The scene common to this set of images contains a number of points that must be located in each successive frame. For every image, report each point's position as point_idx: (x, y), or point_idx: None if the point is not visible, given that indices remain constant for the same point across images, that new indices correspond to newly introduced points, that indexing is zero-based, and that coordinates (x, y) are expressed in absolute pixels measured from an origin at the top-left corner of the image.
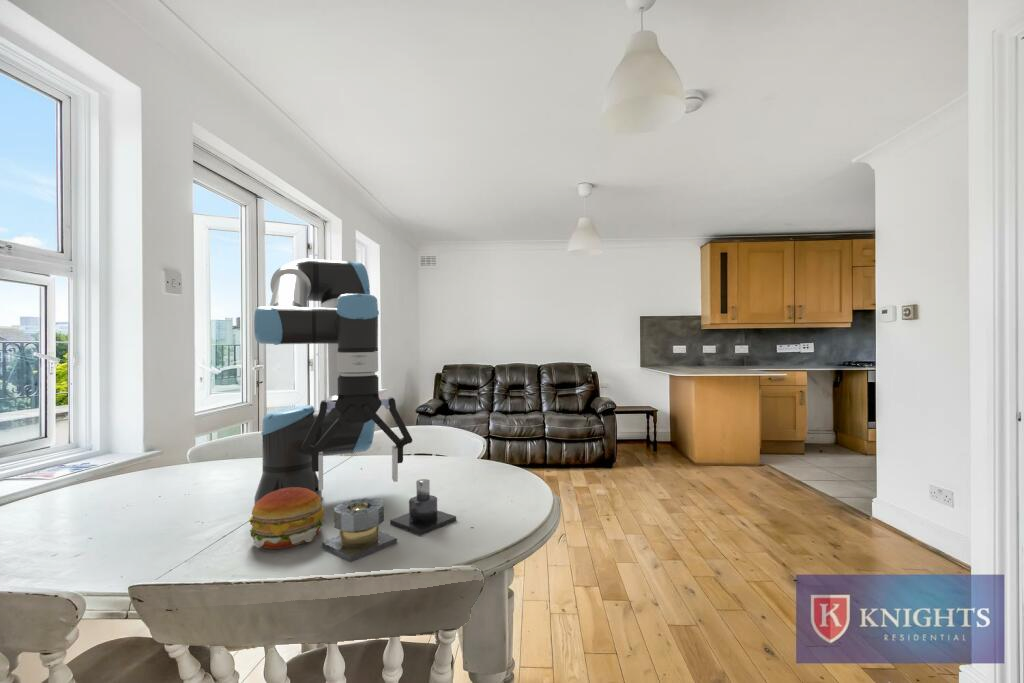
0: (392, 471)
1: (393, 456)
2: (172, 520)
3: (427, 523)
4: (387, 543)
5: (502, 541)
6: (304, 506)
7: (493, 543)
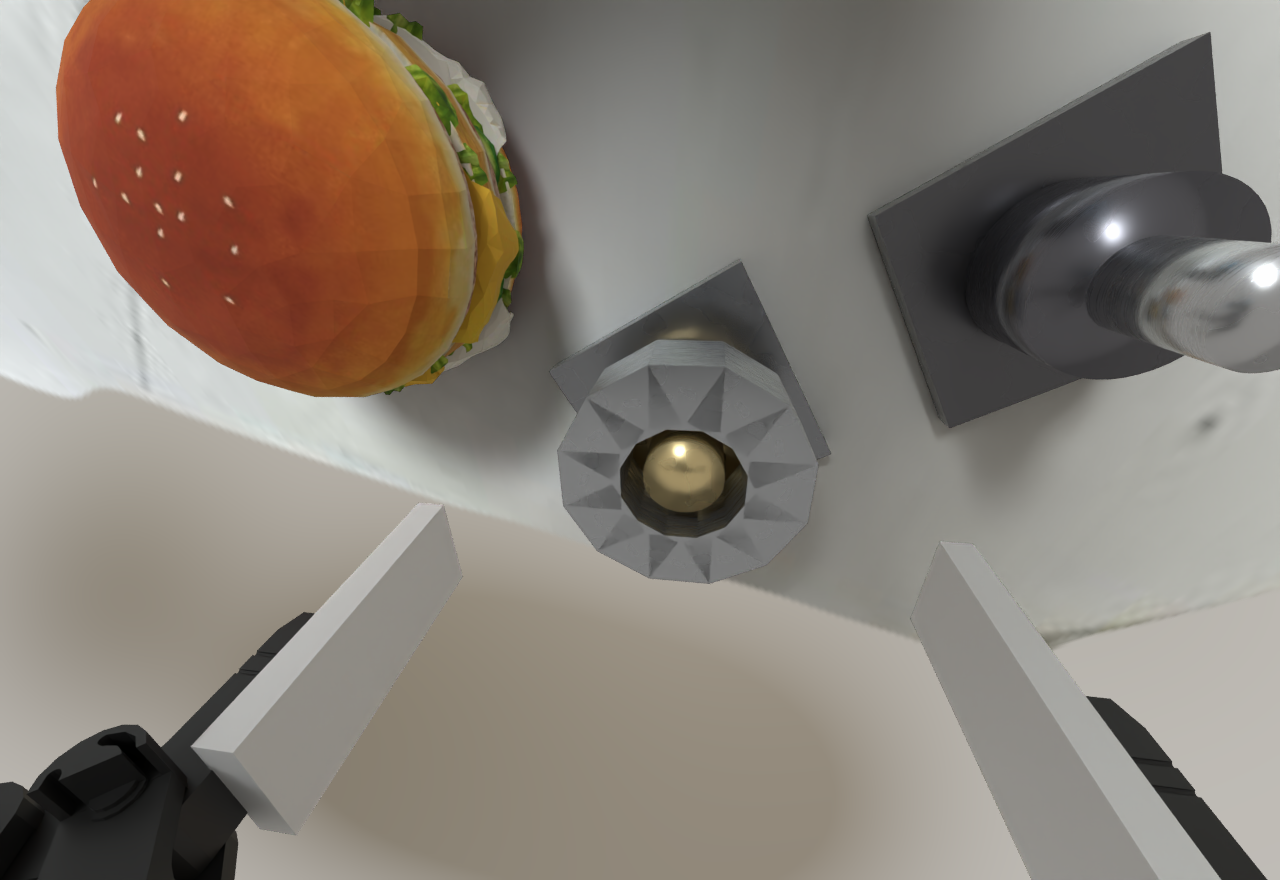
0: (960, 607)
1: (1019, 834)
2: None
3: (1027, 356)
4: None
5: (1185, 587)
6: (398, 369)
7: (1142, 586)
